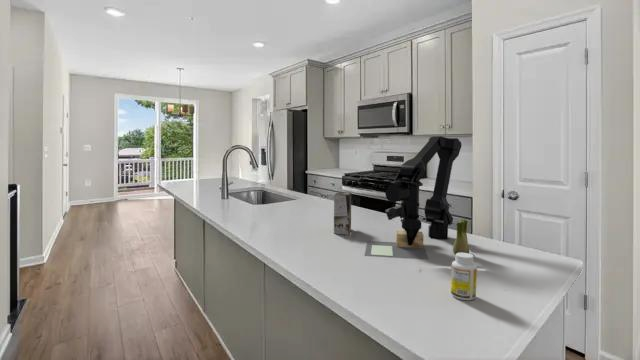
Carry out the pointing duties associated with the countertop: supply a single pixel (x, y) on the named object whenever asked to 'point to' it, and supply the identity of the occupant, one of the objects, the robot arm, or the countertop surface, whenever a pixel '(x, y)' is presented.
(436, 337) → the countertop surface
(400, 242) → the oak block
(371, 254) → the mat
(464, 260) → the supplement bottle
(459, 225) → the fennel bulb
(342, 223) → the coffee box
